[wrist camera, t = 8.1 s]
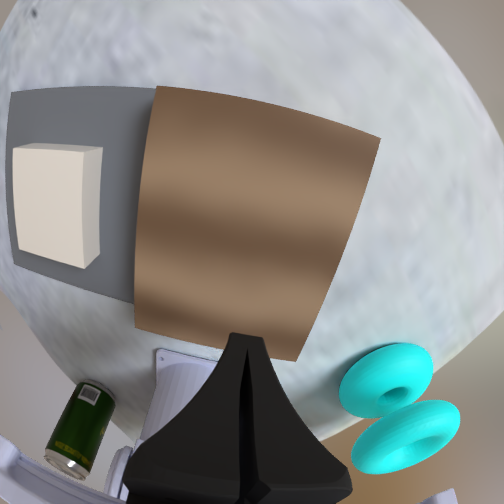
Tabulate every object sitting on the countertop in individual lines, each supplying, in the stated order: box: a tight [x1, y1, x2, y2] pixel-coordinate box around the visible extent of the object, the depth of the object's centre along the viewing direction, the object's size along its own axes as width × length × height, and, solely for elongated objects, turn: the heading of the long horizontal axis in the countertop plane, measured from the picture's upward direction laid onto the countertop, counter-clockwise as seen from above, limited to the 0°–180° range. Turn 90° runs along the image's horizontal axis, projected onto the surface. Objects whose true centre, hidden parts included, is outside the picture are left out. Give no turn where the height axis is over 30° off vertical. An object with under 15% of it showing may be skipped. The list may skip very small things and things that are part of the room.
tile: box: [13, 143, 103, 269], centre depth 17 cm, size 8×7×2 cm
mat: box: [5, 86, 156, 304], centre depth 18 cm, size 16×14×1 cm
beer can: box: [44, 380, 116, 481], centre depth 23 cm, size 5×5×12 cm
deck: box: [134, 86, 381, 362], centre depth 18 cm, size 16×12×3 cm
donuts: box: [339, 343, 460, 474], centre depth 21 cm, size 10×10×10 cm
